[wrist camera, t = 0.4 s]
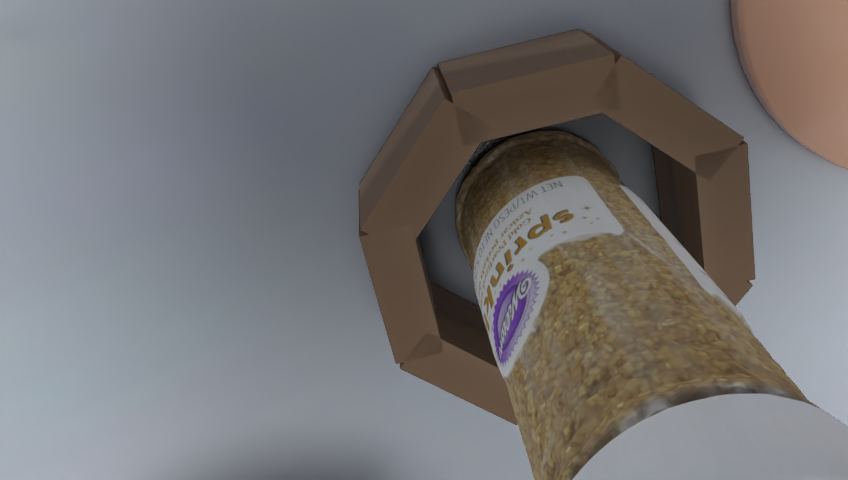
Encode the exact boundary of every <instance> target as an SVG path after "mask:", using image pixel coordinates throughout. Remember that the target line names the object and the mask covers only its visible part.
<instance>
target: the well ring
mask: <svg viewBox="0 0 848 480" xmlns="http://www.w3.org/2000/svg"><path fill="white" fill-rule="evenodd" d="M438 66H439V70H440V72H439V71H437V70H436V69H434V68H432V69H431V70H430V72H429V73H428V75H427V77H426V78H425V80H424V81H423V83H422V85H421V86H420V88H419V89H418V91H417V93H416V94H415V96H414V97H413V99H412V101H411V102H410V104H409V105H408V107H407V109H406V110H405V112H404V113H403V115H402V117H401V118H400V120H399V121H398V123H397V125H396V126H395V128H394V129H393V131H392V133H391V134H390V136H389V137H388V139H387V141H386V142H385V144H384V145H383V147H382V149H381V150H380V152H379V153H378V155H377V157H376V158H375V160H374V161H373V163H372V165H371V166H370V168H369V169H368V171H367V173H366V174H365V176H364V177H363V179H362V181H361V182H360V189H359V237H360V241H361V244H362V248H363V251H364V255H365V258H366V262H367V265H368V269H369V272H370V276H371V279H372V282H373V286H374V289H375V293H376V296H377V300H378V303H379V307H380V310H381V314H382V317H383V321H384V324H385V328H386V331H387V335H388V338H389V341H390V345H391V348H392V352H393V355H394V359H395V362H396V364H398V363H400V369H402V370H404V371H406V372H408V373H410V374H412V375H414V376H416V377H418V378H420V379H423V380H425V381H427V382H429V383H431V384H433V385H435V386H437V387H439V388H441V389H443V390H445V391H447V392H449V393H451V394H453V395H455V396H458V397H460V398H462V399H464V400H466V401H468V402H470V403H472V404H474V405H476V406H478V407H480V408H482V409H484V410H486V411H488V412H490V413H493V414H495V415H497V416H499V417H501V418H503V419H505V420H507V421H509V422H511V423H513V424H515V425H517V424H518V423H517V419H516V417H515V413H514V409H513V406H512V403H511V399H510V395H509V392H508V388H507V385H506V382H505V380H504V378H503V376H502V374H501V372H500V370H499V367H498V365H497V362H496V359H495V357H494V354H493V350H492V347H491V343H490V340H489V336H488V333H487V330H486V326H485V323H484V320H483V316H482V313H481V309H480V308H479V307H477V306H475V305H473V304H471V303H469V302H468V301H466V300H464V299H462V298H460V297H458V296H456V295H454V294H452V293H451V292H449V291H447V290H445V289H443V288H441V287H439V286H437V285H435V284H433V283H432V282H430V280H429V276H428V272H427V268H426V264H425V260H424V256H423V252H422V248H421V244H420V240H419V236H418V235H419V234H420V232H421V231H422V229H423V228H424V226H425V225H426V223H427V222H428V220H429V219H430V218H431V216H432V215H433V213H434V212H435V210H436V209H437V207H438V206H439V204H440V203H441V201H442V200H443V198H444V197H445V195H446V194H447V192H448V191H449V189H450V188H451V186H452V185H453V183H454V182H455V180H456V179H457V177H458V176H459V174H460V173H461V171H462V170H463V168H464V167H465V165H466V164H467V162H468V161H469V159H470V158H471V156H472V155H473V153H474V152H475V150H476V149H477V147H478V146H479V144H480V143H481V142H484V141H488V140H492V139H496V138H501V137H505V136H509V135H513V134H517V133H521V132H525V131H529V130H534V129H538V128H542V127H546V126H550V125H554V124H558V123H562V122H567V121H571V120H575V119H579V118H583V117H587V116H591V115H596V114H600V113H604V114H605V115H607V116H608V117H610V118H611V119H613V120H614V121H616V122H618V123H619V124H621V125H622V126H624V127H625V128H627V129H628V130H630V131H632V132H633V133H635V134H636V135H638V136H639V137H641V138H642V139H644V140H646V141H647V142H649V143H650V144H652V145H653V151H654V160H655V169H656V178H657V187H658V196H659V205H660V214H661V222H662V223H663V225H664V226H665V227H666V228H667V229H668V230H669V231H670V232H671V234H672V235H673V236H674V237H675V238H676V239H677V240H678V241H679V243H680V244H681V245H682V246H683V247H684V248H685V249H686V250H687V252H688V253H689V254H690V255H691V256H692V257H693V258H694V259H695V261H696V262H697V263H698V264H699V265H700V266H701V267H702V269H703V270H704V271H705V272H706V273H707V274H708V275H709V277H710V278H711V279H712V280H713V281H714V282H715V284H716V285H717V286H718V287H719V288H720V289H721V291H722V292H723V293H724V294H725V295H726V296H727V298H728V299H729V300H730V301H731V302H732V303H733V305H734V306H736V305H737V303H738V302H739V301H740V300H741V299H742V297H743V296H744V295H745V294H746V293H747V292H748V290H749V289H750V288H751V287H752V286H753V285H752V284H751V283H750V282H749V280H753V279H755V266H754V249H753V232H752V214H751V197H750V179H749V162H748V145H747V143H746V142H744V141H743V138H744V137H742V136H741V135H739V134H738V133H736V132H735V131H734V130H732V129H731V128H729V127H728V126H726V125H725V124H723V123H722V122H720V121H719V120H717V119H716V118H714V117H713V116H711V115H710V114H708V113H707V112H705V111H704V110H703V109H701V108H700V107H698V106H697V105H695V104H694V103H692V102H691V101H689V100H688V99H686V98H685V97H683V96H682V95H680V94H679V93H677V92H676V91H674V90H673V89H671V88H670V87H668V86H667V85H665V84H664V83H663V82H661V81H660V80H658V79H657V78H655V77H654V76H652V75H651V74H649V73H648V72H646V71H645V70H643V69H642V68H640V67H639V66H637V65H636V64H634V63H633V62H631V61H630V60H628V59H627V58H625V57H624V56H622V55H621V54H619V53H618V52H617V51H615V50H614V49H612V48H611V47H609V46H608V45H606V44H605V43H603V42H602V41H600V40H599V39H597V38H596V37H594V36H593V35H591V34H590V33H588V32H587V31H584V32H582V31H580V30H579V29H576V30H572V31H568V32H564V33H560V34H556V35H551V36H547V37H543V38H539V39H535V40H531V41H527V42H523V43H519V44H515V45H511V46H507V47H502V48H498V49H494V50H490V51H486V52H482V53H478V54H474V55H470V56H466V57H462V58H457V59H453V60H449V61H445V62H441V63H438Z"/></svg>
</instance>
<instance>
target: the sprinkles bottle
mask: <svg viewBox="0 0 848 480" xmlns="http://www.w3.org/2000/svg"><path fill="white" fill-rule="evenodd" d="M455 224H456V230H457V235H458V239H459V242H460V245H461V248H462V250H463V252H464V254H465V256H466V258H467V259H468V261H469V262H470V265H471V268H472V270H473V275H474V287H475V292H476V296H477V299H478V303H479V306H480V309H481V313H482V316H483V320H484V323H485V326H486V330H487V333H488V336H489V340H490V343H491V347H492V350H493V354H494V357H495V359H496V362H497V365H498V367H499V370H500V372H501V374H502V376H503V378H504V380H505V382H506V385H507V388H508V392H509V395H510V399H511V403H512V406H513V409H514V413H515V417H516V419H517V423H518V426H519V429H520V432H521V435H522V438H523V442H524V445H525V447H526V451H527V454H528V457H529V461H530V464H531V468H532V472H533V476H534V478H535V480H848V427H847V426H846V425H845V424H844V423H842V422H841V421H839V420H838V419H836V418H835V417H833V416H832V415H830V414H829V413H827V412H826V411H824V410H823V409H821V408H819V407H818V406H816V405H814V404H813V403H811V402H810V401H808V400H807V399H806V397H805V396H804V395H803V393H802V392H801V391H800V390H799V388H798V387H797V386H796V384H795V383H794V382H793V381H792V380H791V379H790V378H789V377H788V376H787V375H786V373H785V372H784V370H783V369H782V368H781V366H780V365H779V364H778V363H777V362H775V361H774V360H773V358H772V357H771V355H770V354H769V353H768V352H767V350H766V349H765V348H764V347H763V345H762V344H761V343H760V342H759V340H758V339H757V338H756V337H755V336H754V335H753V332H752V330H751V328H750V326H749V325H748V323H747V322H746V320H745V319H744V317H743V316H742V314H741V313H740V312H739V311H738V309H737V308H736V307H735V306H734V305H733V303H732V302H731V301H730V300H729V299H728V298H727V296H726V295H725V294H724V293H723V292H722V291H721V289H720V288H719V287H718V286H717V285H716V284H715V282H714V281H713V280H712V279H711V278H710V277H709V275H708V274H707V273H706V272H705V271H704V270H703V269H702V267H701V266H700V265H699V264H698V263H697V262H696V261H695V259H694V258H693V257H692V256H691V255H690V254H689V253H688V252H687V250H686V249H685V248H684V247H683V246H682V245H681V244H680V243H679V241H678V240H677V239H676V238H675V237H674V236H673V235H672V234H671V232H670V231H669V230H668V229H667V228H666V227H665V226H664V225H663V223H662V222H661V221H660V220H659V219H658V218H657V216H656V215H655V214H654V213H653V212H652V211H651V210H650V209H649V207H648V206H647V205H646V204H645V203H644V202H643V201H642V200H641V199H640V198H639V197H638V196H637V195H636V194H635V193H634V192H632V191H631V190H630V189H628V188H627V187H625V185H624V184H623V183H622V182H621V181H620V180H619V177H618V173H617V171H616V170H615V168H614V167H613V165H612V164H611V162H610V161H609V160H608V159H606V158H605V156H604V155H603V154H602V153H601V152H600V151H599V150H598V148H596V147H595V146H594V145H592V144H590V143H588V142H586V141H584V140H583V139H581V138H579V137H576V136H574V135H572V134H570V133H567V132H562V131H536V132H531V133H528V134H526V135H520V136H517V137H514V138H511V139H508V140H507V141H505V142H504V143H502V144H499V145H497V146H495V147H494V148H492V149H491V150H490V151H489V152H487V153H486V154H485V155H484V156H483V157H482V158H481V159H480V160H479V161H478V164H477V166H475V167H473V168H472V169H471V171H470V173H469V175H468V176H467V178H466V179H465V180H464V181H463V184H462V186H461V189H460V192H459V193H458V195H457V199H456V212H455Z"/></svg>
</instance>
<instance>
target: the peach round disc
mask: <svg viewBox="0 0 848 480" xmlns="http://www.w3.org/2000/svg"><path fill="white" fill-rule="evenodd" d="M731 18H732V26H733V34H734V40H735V44H736V48H737V51H738V55H739V59H740V62H741V66H742V68H743V70H744V73H745V75H746V77H747V79H748V82H749V84H750V86H751V89H752V90H753V92H754V93H755V95H756V97H757V98H758V100H759V101H760V103H761V104H762V106H763V108H764V109H765V111H766V112H767V113H768V114H769V115H770V116H771V117H772V118H773V120H774V121H775V122H776V123H777V124H778V125H779V126H780V127H781V129H783V130H784V131H785V132H786V133H788V134H789V135H790V136H791V137H793V138H794V139H795V140H796V141H797V142H799V143H800V144H802V145H803V146H805V147H807V148H808V149H810V150H812V151H813V152H815V153H817V154H818V155H820V156H822V157H823V158H825V159H827V160H829V161H830V162H832V163H834V164H836V165H838V166H840V167H843V168H846V169H848V0H731Z"/></svg>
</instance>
